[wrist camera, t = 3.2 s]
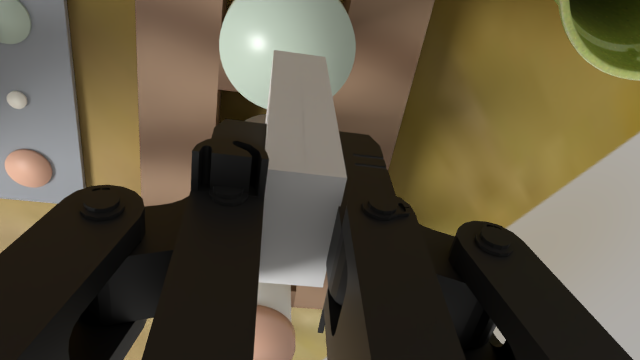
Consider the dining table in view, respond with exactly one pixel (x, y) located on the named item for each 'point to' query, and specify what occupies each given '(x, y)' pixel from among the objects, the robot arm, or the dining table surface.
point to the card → (38, 103)
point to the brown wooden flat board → (210, 78)
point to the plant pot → (605, 34)
